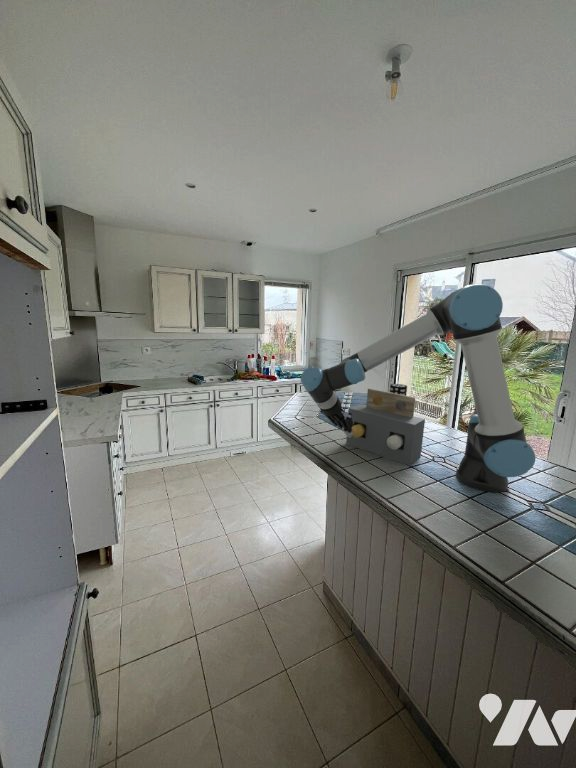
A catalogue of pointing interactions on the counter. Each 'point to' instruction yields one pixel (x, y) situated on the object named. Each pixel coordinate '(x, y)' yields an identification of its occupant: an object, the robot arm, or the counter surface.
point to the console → (387, 433)
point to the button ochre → (358, 430)
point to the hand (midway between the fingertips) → (350, 434)
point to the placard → (391, 402)
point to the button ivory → (395, 441)
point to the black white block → (398, 389)
